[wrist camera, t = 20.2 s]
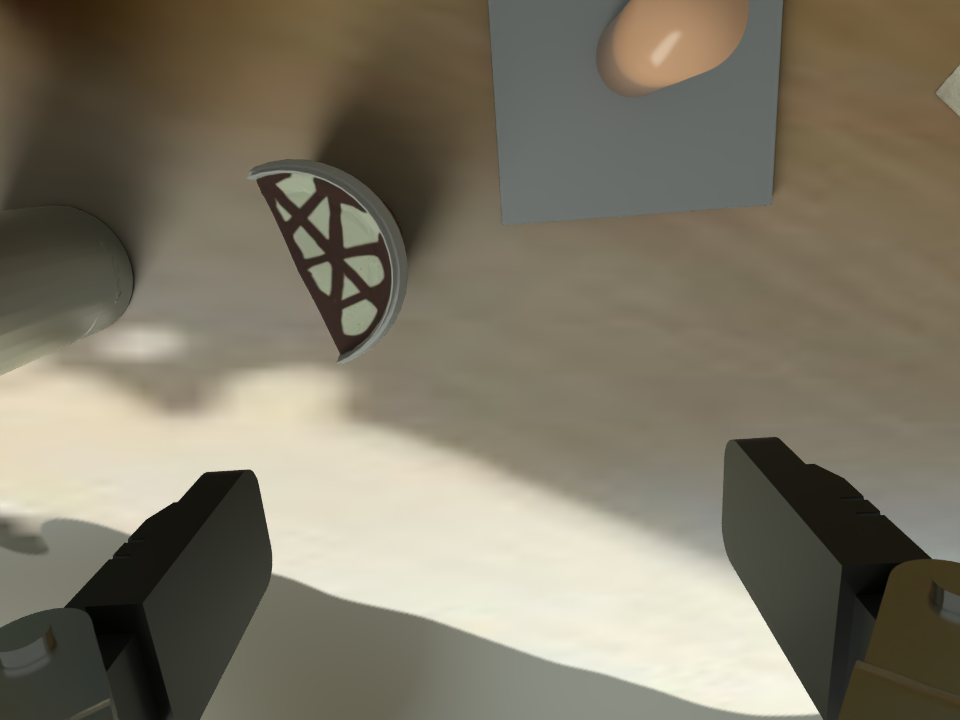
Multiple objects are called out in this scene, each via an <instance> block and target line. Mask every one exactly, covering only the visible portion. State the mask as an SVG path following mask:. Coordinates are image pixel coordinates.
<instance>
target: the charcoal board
mask: <svg viewBox="0 0 960 720" xmlns="http://www.w3.org/2000/svg"><path fill="white" fill-rule="evenodd" d="M629 1H630V0H488V9H489V24H490V40H491V55H492V71H493V86H494V102H495V117H496V132H497V148H498V163H499V179H500V194H501V209H502V224H503V225H512V224H525V223H538V222H551V221H564V220H577V219H591V218H604V217H617V216H630V215H643V214H656V213H670V212H683V211H696V210H709V209H722V208H735V207H748V206H762V205H772V189H773V171H774V153H775V136H776V118H777V100H778V82H779V64H780V47H781V29H782V11H783V0H748V1H749V13H748V21H747V25H746V28H745V31H744V34H743V36H742V38H741V40H740V42H739V44H738V46H737V47H736V49H735V50H734V51H733V52H732V54H731V55H730V56H729V57H728V58H727V59H726V60H725V61H723V62H722V63H721V64H719V65H718V66H716V67H715V68H713V69H711V70H709V71H706V72H704V73H701V74H699V75H696V76H694V77H691V78H688V79H686V80H683V81H681V82H678V83H676V84H673V85H670V86H668V87H665V88H663V89H660V90H658V91H655V92H653V93H650V94H647V95H645V96H641V97H625V96H622V95H619V94H617V93H615V92H613V91H612V90H611V89H610V88H608V87H607V86H606V84H605V83H604V82H603V80H602V79H601V77H600V75H599V72H598V69H597V64H596V50H597V45H598V41H599V39H600V36H601V34H602V33H603V31H604V29H605V28H606V27H607V25H608V24H609V23H610V22H611V21H612V20H613V19H614V18H615V17H616V15H617V14H618V13H619V12H620V11H621V10H622V9H623V8H624V7H625V6H626V4H627V3H628V2H629Z"/></svg>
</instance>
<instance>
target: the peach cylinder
mask: <svg viewBox="0 0 960 720" xmlns="http://www.w3.org/2000/svg"><path fill="white" fill-rule="evenodd" d="M748 13H749V1H748V0H630V1H629V2H628V3H627V4H626V6H625V7H624V8H623V9H622V10H621V11H620V12H619V13H618V14H617V15H616V17H615V18H614V19H613V20H612V21H611V22H610V23H609V24H608V25H607V27H606V28H605V29H604V31H603V33H602V34H601V36H600V39H599V41H598V45H597V50H596V64H597V69H598V72H599V75H600V77H601V79H602V80H603V82H604V83H605V84H606V86H607V87H608V88H610V89H611V90H612V91H613V92H615V93H617V94H619V95H622V96H625V97H641V96H645V95H647V94H650V93H653V92H655V91H658V90H660V89H663V88H665V87H668V86H670V85H673V84H676V83H678V82H681V81H683V80H686V79H688V78H691V77H694V76H696V75H699V74H701V73H704V72H706V71H709V70H711V69H713V68H715V67H716V66H718V65H719V64H721V63H722V62H723V61H725V60H726V59H727V58H728V57H729V56H730V55H731V54H732V52H733V51H734V50H735V49H736V47H737V46H738V44H739V42H740V40H741V38H742V36H743V34H744V31H745V28H746V25H747V21H748Z"/></svg>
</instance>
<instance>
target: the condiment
mask: <svg viewBox="0 0 960 720" xmlns="http://www.w3.org/2000/svg"><path fill="white" fill-rule="evenodd" d="M936 94H937V95H938V96H939V97H940V98H941V99H942V100H943V101H944V102H945V103H947V104H948V106H949V107H950V108H952V109H953V110H954V112H955V113H956V114H957V115H958V116H959V117H960V65H959V66H958V67H957V68H956V69H955V71H954V72H953V73H952V74H951V75H950V76H949V77H948V78H947V80H946V81H945V82H944V83H943V84H942V85H941V87H940V88H939V89H938V90H937V92H936Z"/></svg>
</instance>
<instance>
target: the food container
mask: <svg viewBox="0 0 960 720" xmlns="http://www.w3.org/2000/svg"><path fill="white" fill-rule="evenodd" d="M248 173H249V175H250V176H249V177H246V178H247V179H251V180H256V181H257V183H258V185H259V187H260V190H261V193H262V194H263V196H264V197H265V199H266V201H267V203H268V205H269V207H270V209H271V211H272V213H273V215H274V217H275V219H276V222H277V224H278V226H279V228H280V230H281V233H282V235H283V237H284V239H285V241H286V244H287V246H288V248H289V251H290V253H291V255H292V258H293V260H294V262H295V265H296V267H297V269H298V272H299V274H300V275H301V277H302V279H303V281H304V283H305V285H306V287H307V288H308V290H309V292H310V294H311V296H312V298H313V300H314V302H315V304H316V306H317V307H318V309H319V311H320V313H321V315H322V317H323V320H324V322H325V324H326V326H327V328H328V330H329V332H330V334H331V336H332V338H333V340H334V342H335V344H336V346H337V348H338V350H339V352H340V356H339V358H338V360H337V364H338V363H341V364H344V363H346V362H349V361H351V360H353V359H355V358H357V357H359V356H361V355H362V354H364V353H365V352H366V351H368V350H369V349H371V348H372V347H374V346H375V345H376V344H377V343H378V342H379V341H380V340H381V339H382V338H383V337H384V336H385V335H386V333H387V332H388V330H389V329H390V328H391V326H392V325H393V324H394V322H395V320H396V318H397V316H398V314H399V312H400V310H401V307H402V304H403V301H404V298H405V294H406V287H407V280H408V263H407V256H406V251H405V245H404V242H403V238H402V232H401V229H400V226H399V223H398V221H397V219H396V218H395V216H394V214H393V212H392V211H391V210H390V208H389V207H388V206H387V204H386V203H385V202H384V201H383V200H382V199H380V198H379V197H378V196H377V195H376V194H374V193H373V192H372V191H371V190H370V189H369V188H368V187H367V186H366V185H364V184H363V183H362V182H360V181H359V180H358V179H356V178H355V177H353V176H352V175H350V174H348V173H346V172H344V171H342V170H340V169H338V168H335V167H333V166H330V165H327V164H324V163H321V162H315V161H309V160H292V159H286V160H280V161H273V162H268V163H265V164H262V165H259V166H256V167H254V168H253V169H252V170H251V171H249V172H248Z"/></svg>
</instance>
